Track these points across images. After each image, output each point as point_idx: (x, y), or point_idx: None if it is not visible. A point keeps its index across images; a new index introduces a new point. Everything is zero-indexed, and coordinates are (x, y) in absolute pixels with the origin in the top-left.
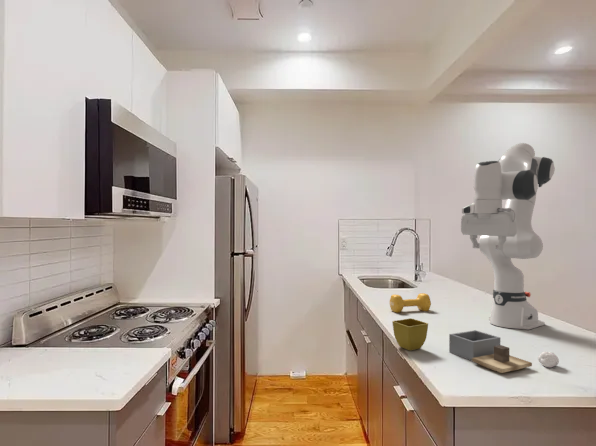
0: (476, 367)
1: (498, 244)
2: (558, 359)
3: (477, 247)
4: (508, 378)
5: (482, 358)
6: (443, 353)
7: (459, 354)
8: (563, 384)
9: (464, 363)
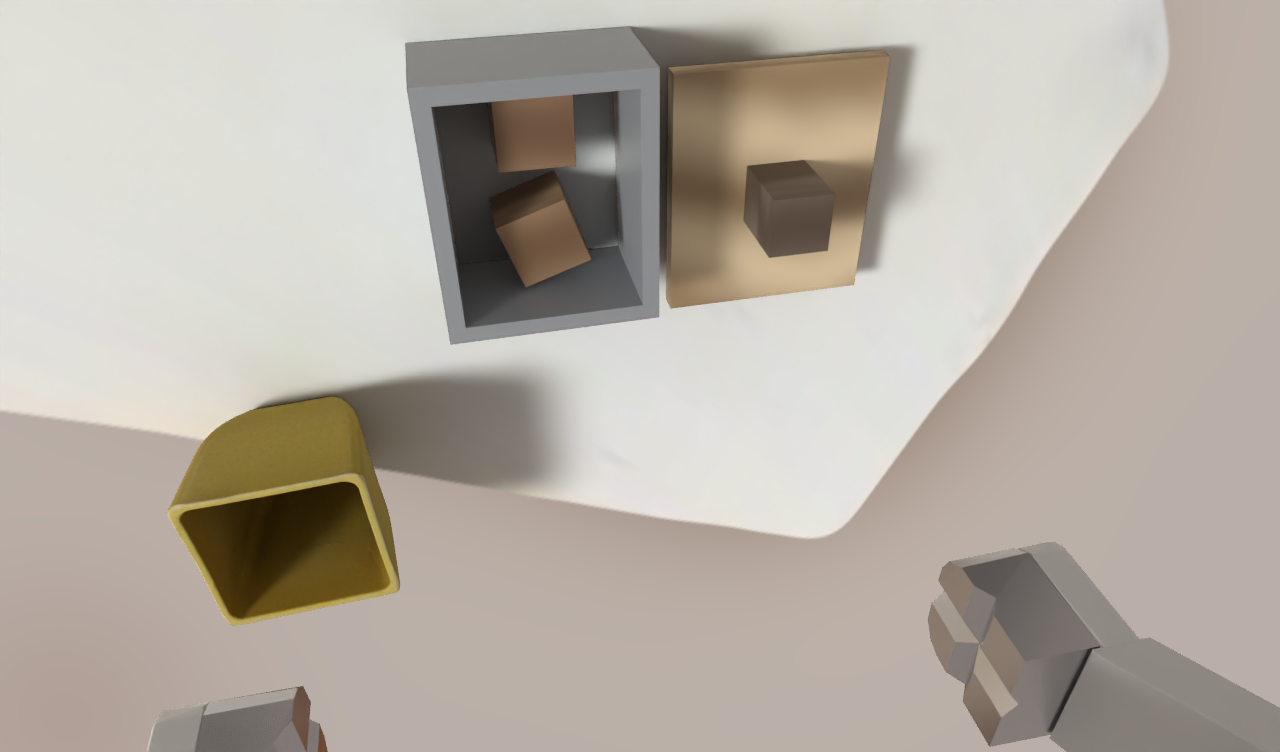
0: None
1: (1079, 740)
2: None
3: (301, 739)
4: (873, 263)
5: (702, 265)
6: None
7: None
8: (1061, 83)
9: None
